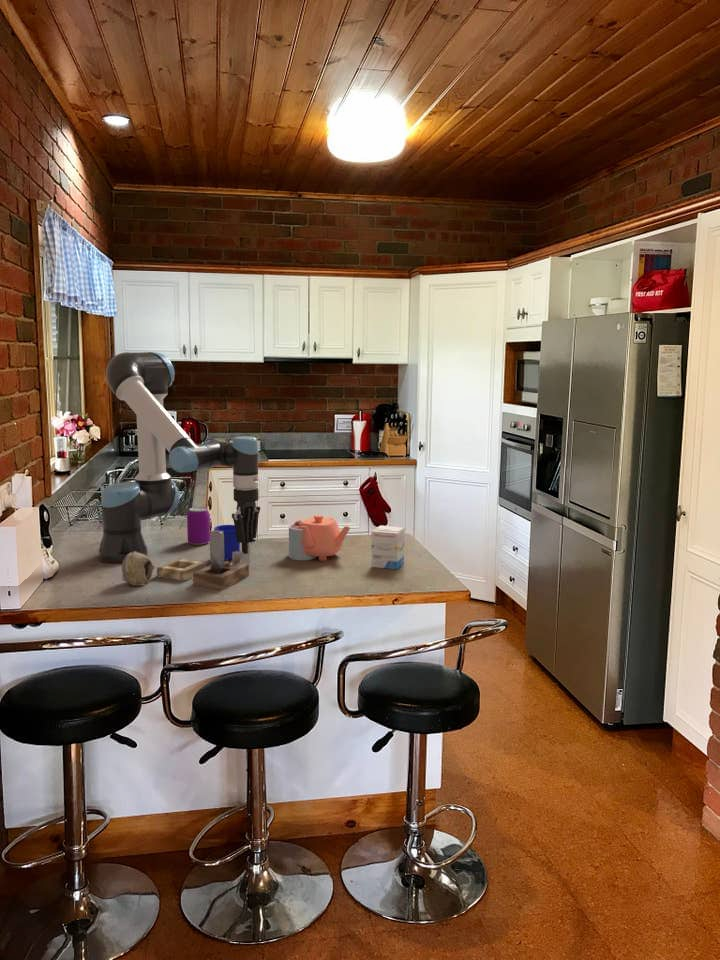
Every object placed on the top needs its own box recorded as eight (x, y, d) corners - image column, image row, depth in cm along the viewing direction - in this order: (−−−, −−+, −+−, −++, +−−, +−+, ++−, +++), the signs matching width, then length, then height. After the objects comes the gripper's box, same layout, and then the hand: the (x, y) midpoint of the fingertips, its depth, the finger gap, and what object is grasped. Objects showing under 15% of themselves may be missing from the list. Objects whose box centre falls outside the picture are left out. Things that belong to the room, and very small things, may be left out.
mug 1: (246, 563, 241) (246, 532, 239) (210, 560, 244) (210, 529, 242) (255, 556, 249) (255, 526, 247) (220, 553, 251) (219, 524, 250)
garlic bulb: (128, 595, 217) (116, 566, 212) (124, 582, 224) (113, 553, 220) (160, 582, 219) (149, 553, 215) (156, 569, 227) (144, 541, 222)
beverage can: (208, 539, 269) (208, 505, 267) (211, 544, 262) (211, 510, 260) (186, 540, 267) (185, 507, 265) (189, 546, 260) (188, 511, 257)
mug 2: (283, 557, 248) (282, 527, 246) (300, 550, 256) (300, 521, 254) (316, 564, 241) (316, 533, 239) (334, 557, 248) (334, 527, 247)
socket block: (220, 571, 232) (219, 560, 231) (248, 575, 228) (248, 564, 228) (193, 584, 219) (193, 573, 219) (223, 589, 215) (223, 577, 215)
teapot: (351, 559, 246) (351, 518, 244) (301, 566, 239) (301, 523, 237) (331, 547, 260) (331, 508, 258) (284, 553, 253) (284, 513, 251)
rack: (157, 576, 226) (156, 567, 226) (177, 567, 235) (177, 558, 235) (185, 581, 222) (185, 571, 222) (205, 571, 232) (204, 562, 231)
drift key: (236, 570, 233) (236, 550, 232) (243, 571, 232) (243, 551, 231) (222, 577, 226) (221, 557, 225) (229, 578, 225) (229, 558, 224)
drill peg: (208, 583, 221) (206, 532, 218) (215, 579, 224) (214, 529, 222) (220, 585, 219) (219, 534, 217) (227, 581, 223) (226, 531, 220)
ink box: (404, 562, 244) (405, 526, 242) (397, 570, 236) (398, 533, 234) (378, 559, 247) (379, 524, 245) (370, 567, 239) (371, 530, 237)
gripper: (245, 492, 225) (246, 570, 229) (267, 485, 237) (268, 559, 241) (223, 490, 228) (225, 566, 232) (246, 483, 240) (247, 556, 244)
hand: (247, 562), depth 236 cm, fingers closed
